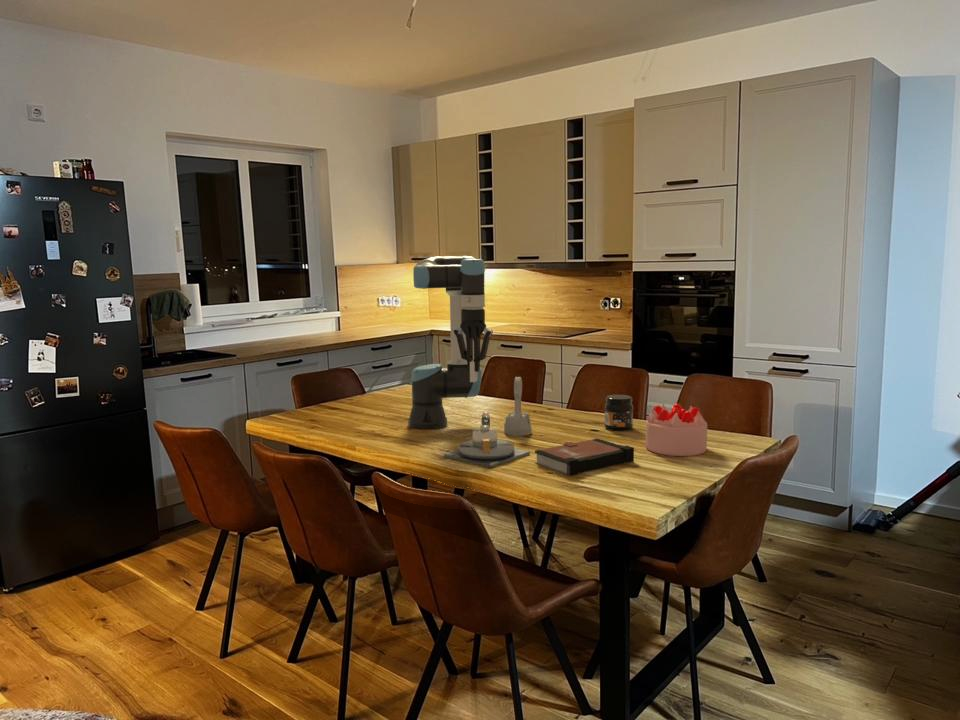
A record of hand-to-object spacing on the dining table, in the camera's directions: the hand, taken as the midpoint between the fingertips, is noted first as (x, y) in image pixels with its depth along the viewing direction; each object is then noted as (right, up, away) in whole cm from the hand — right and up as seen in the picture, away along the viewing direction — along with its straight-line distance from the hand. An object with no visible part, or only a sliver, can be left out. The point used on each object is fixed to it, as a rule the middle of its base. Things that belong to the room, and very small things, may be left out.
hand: (473, 381), depth 234 cm
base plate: (+4, -24, +3) cm, 25 cm away
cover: (+4, -21, +3) cm, 21 cm away
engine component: (+16, -20, +35) cm, 43 cm away
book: (+35, -26, -5) cm, 44 cm away
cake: (+68, -23, +9) cm, 72 cm away
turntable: (+4, -23, +3) cm, 24 cm away
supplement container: (+54, -19, +39) cm, 69 cm away
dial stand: (+4, -22, +13) cm, 26 cm away
